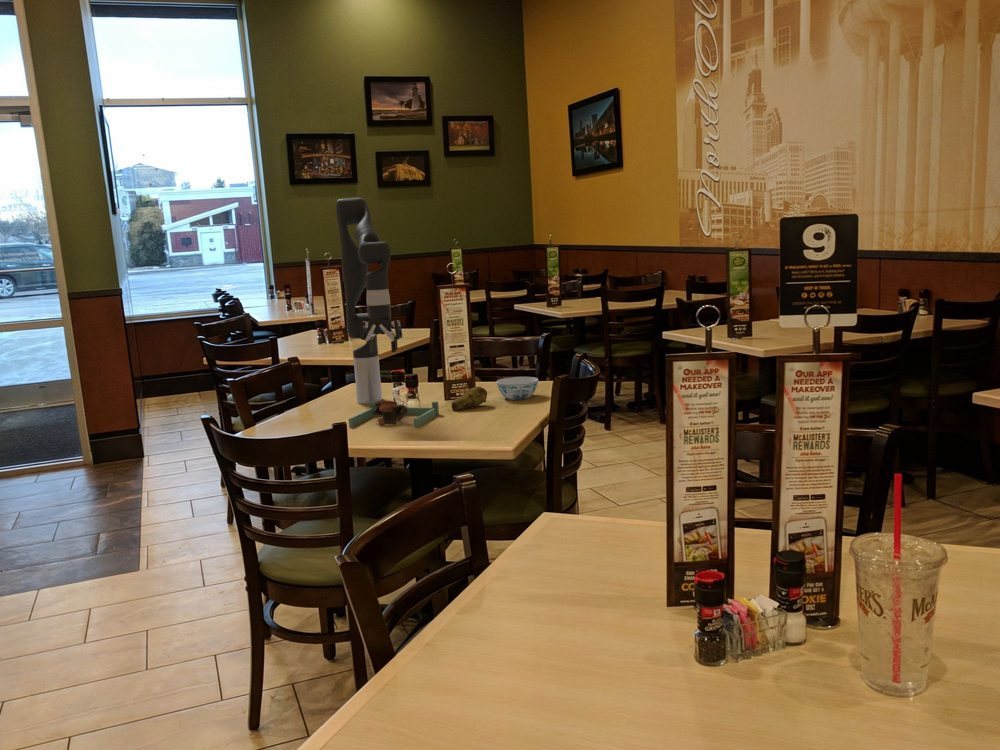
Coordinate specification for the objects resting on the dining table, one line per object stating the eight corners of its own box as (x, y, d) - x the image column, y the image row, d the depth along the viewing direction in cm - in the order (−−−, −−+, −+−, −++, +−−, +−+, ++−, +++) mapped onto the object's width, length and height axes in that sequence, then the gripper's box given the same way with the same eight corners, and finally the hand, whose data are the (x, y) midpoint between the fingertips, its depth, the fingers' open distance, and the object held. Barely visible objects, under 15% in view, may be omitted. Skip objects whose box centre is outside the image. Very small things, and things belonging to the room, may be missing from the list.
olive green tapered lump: (450, 409, 292) (448, 387, 291) (486, 406, 294) (485, 384, 293) (452, 414, 284) (450, 391, 283) (489, 411, 286) (488, 388, 285)
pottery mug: (369, 427, 271) (367, 403, 274) (382, 433, 280) (379, 410, 282) (403, 419, 268) (401, 395, 271) (415, 425, 277) (412, 402, 280)
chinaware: (543, 397, 306) (542, 376, 304) (534, 405, 291) (533, 383, 290) (503, 397, 309) (502, 377, 308) (493, 405, 295) (491, 384, 294)
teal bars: (372, 415, 290) (371, 401, 289) (439, 416, 282) (438, 401, 281) (348, 427, 272) (347, 412, 272) (418, 428, 265) (417, 412, 264)
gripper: (403, 301, 275) (406, 350, 278) (364, 303, 280) (368, 351, 283) (393, 303, 268) (397, 353, 271) (353, 305, 273) (357, 354, 276)
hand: (382, 352), depth 277 cm, fingers open, 8 cm apart
